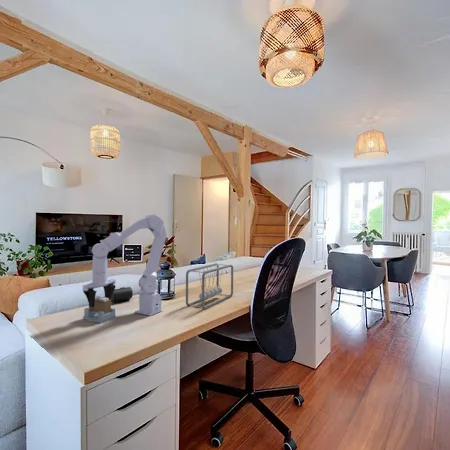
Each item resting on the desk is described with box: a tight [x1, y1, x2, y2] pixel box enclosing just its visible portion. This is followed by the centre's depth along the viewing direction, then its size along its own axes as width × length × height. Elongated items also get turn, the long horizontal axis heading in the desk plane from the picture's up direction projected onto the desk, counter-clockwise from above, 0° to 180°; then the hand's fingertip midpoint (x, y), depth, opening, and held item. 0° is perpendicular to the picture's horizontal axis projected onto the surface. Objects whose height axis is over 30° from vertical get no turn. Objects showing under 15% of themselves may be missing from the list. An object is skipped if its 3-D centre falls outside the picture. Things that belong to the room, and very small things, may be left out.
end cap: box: [110, 286, 134, 304], centre depth 143 cm, size 10×7×7 cm
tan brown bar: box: [88, 295, 112, 314], centre depth 117 cm, size 10×3×6 cm, turn 62°
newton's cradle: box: [185, 262, 234, 310], centre depth 145 cm, size 30×10×18 cm, turn 151°
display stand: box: [82, 307, 117, 324], centre depth 117 cm, size 11×8×4 cm
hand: (99, 304), depth 117 cm, fingers open, 7 cm apart
